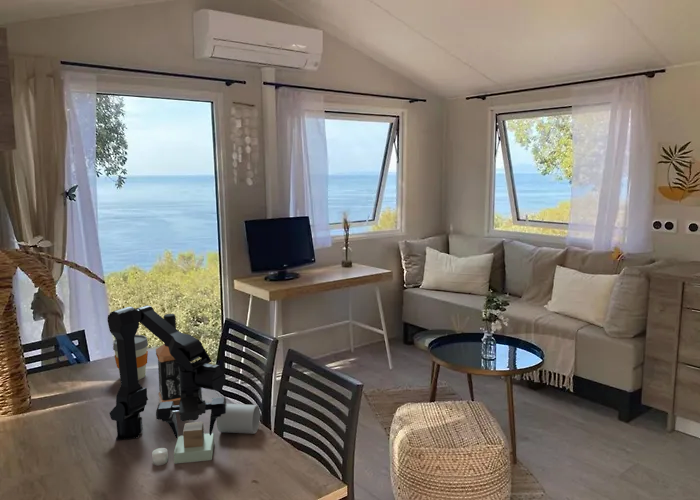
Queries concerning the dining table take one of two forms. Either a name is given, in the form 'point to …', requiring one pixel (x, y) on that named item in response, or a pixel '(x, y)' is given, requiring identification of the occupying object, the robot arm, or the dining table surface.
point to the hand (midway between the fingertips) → (193, 436)
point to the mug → (239, 419)
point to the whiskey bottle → (168, 371)
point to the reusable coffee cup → (137, 354)
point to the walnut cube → (193, 434)
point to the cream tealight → (160, 456)
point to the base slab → (194, 450)
